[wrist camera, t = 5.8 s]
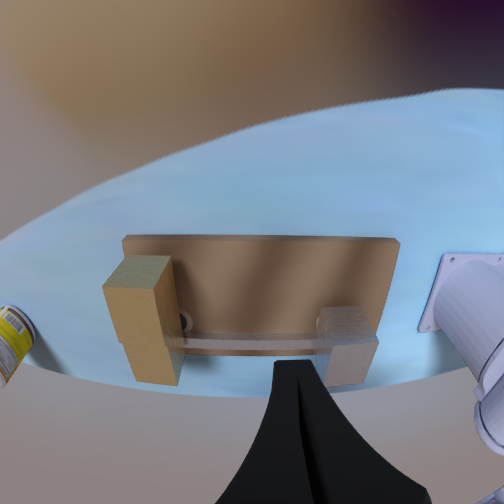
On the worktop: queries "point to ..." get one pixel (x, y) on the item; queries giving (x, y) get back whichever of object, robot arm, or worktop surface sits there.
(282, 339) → the grey piece
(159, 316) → the divider leg
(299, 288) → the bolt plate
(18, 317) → the supplement bottle
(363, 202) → the worktop surface
